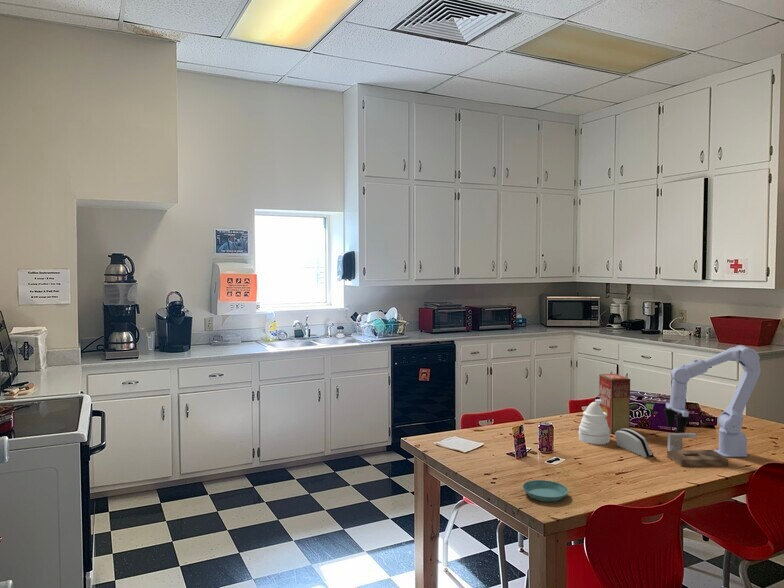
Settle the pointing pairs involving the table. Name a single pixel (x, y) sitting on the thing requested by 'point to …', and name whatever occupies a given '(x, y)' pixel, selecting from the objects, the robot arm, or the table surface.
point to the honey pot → (594, 425)
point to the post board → (697, 458)
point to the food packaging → (615, 400)
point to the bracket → (678, 440)
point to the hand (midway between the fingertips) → (674, 429)
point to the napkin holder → (632, 442)
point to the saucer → (545, 490)
